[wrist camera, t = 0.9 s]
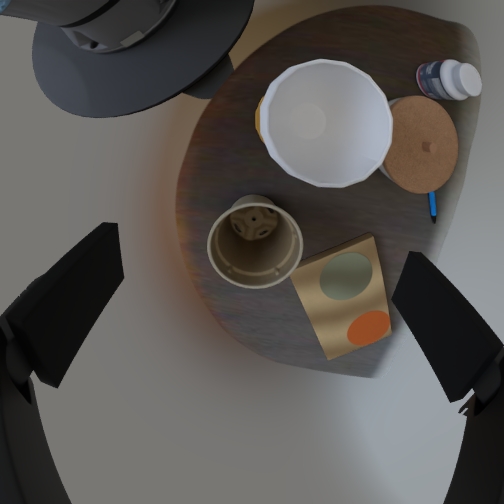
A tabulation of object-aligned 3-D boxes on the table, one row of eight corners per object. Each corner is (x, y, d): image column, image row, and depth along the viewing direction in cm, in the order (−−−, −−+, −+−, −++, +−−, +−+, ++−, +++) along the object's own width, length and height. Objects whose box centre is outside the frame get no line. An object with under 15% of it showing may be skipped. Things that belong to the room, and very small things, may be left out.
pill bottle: (429, 57, 23) (470, 51, 15) (449, 88, 25) (491, 90, 17) (408, 73, 25) (449, 67, 17) (429, 105, 26) (471, 109, 19)
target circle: (342, 322, 41) (342, 323, 41) (387, 303, 39) (387, 303, 39) (351, 350, 44) (351, 351, 44) (391, 333, 43) (392, 334, 43)
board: (286, 266, 38) (287, 272, 36) (369, 232, 35) (373, 236, 34) (326, 354, 47) (328, 360, 45) (389, 328, 44) (392, 334, 43)
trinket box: (373, 81, 26) (412, 74, 18) (433, 125, 28) (478, 134, 19) (340, 153, 30) (371, 168, 22) (403, 190, 32) (442, 215, 24)
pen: (414, 95, 26) (412, 96, 25) (437, 223, 34) (435, 227, 33) (408, 96, 26) (406, 97, 26) (432, 222, 35) (430, 226, 34)
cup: (283, 69, 26) (312, 27, 12) (345, 114, 28) (420, 118, 14) (239, 130, 29) (228, 140, 15) (303, 172, 32) (345, 220, 17)
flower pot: (306, 208, 34) (322, 237, 26) (263, 263, 37) (266, 302, 30) (244, 166, 31) (241, 183, 24) (203, 227, 35) (190, 260, 27)
